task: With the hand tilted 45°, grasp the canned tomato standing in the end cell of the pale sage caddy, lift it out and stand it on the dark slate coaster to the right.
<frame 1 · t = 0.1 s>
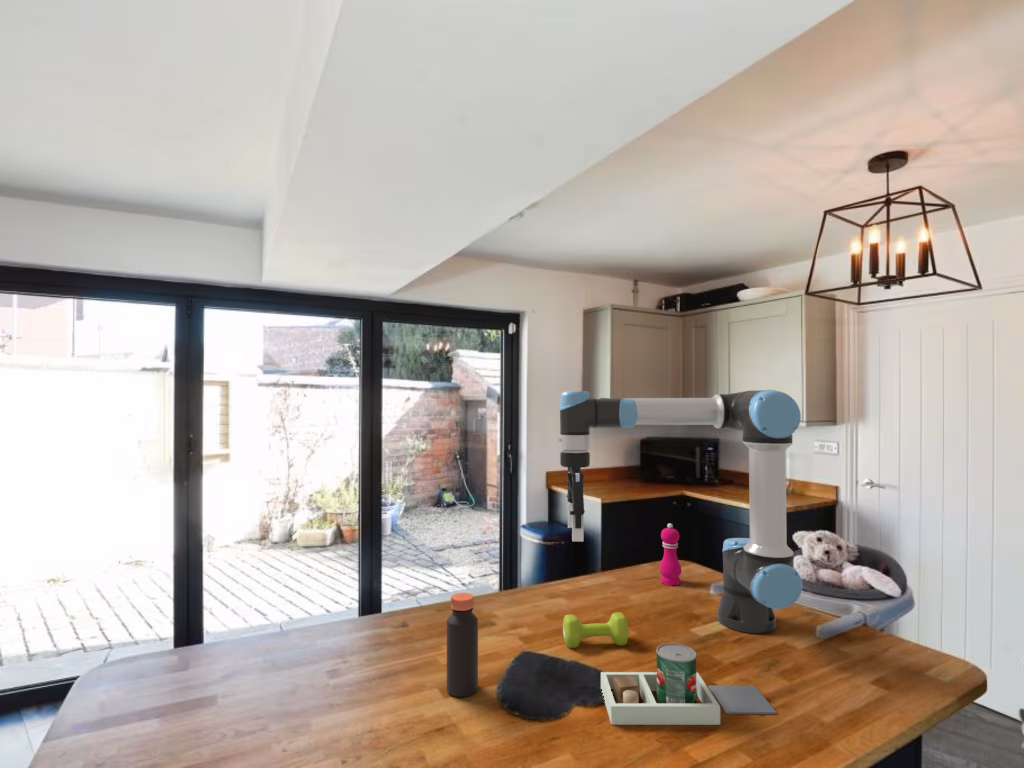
hand: (575, 534, 140), 28 cm above the kitchen island, tool pointing down, fingers open, 13 cm apart
beech dowel: (630, 714, 109), resting in caddy
dumbbell: (595, 644, 140), on the kitchen island
caddy: (657, 705, 112), on the kitchen island
bottle: (462, 690, 118), on the kitchen island
canned tomato: (676, 706, 112), resting in caddy
slate coaster: (741, 700, 114), on the kitchen island
walnut block: (625, 700, 114), resting in caddy
pepper mill: (670, 583, 185), on the kitchen island
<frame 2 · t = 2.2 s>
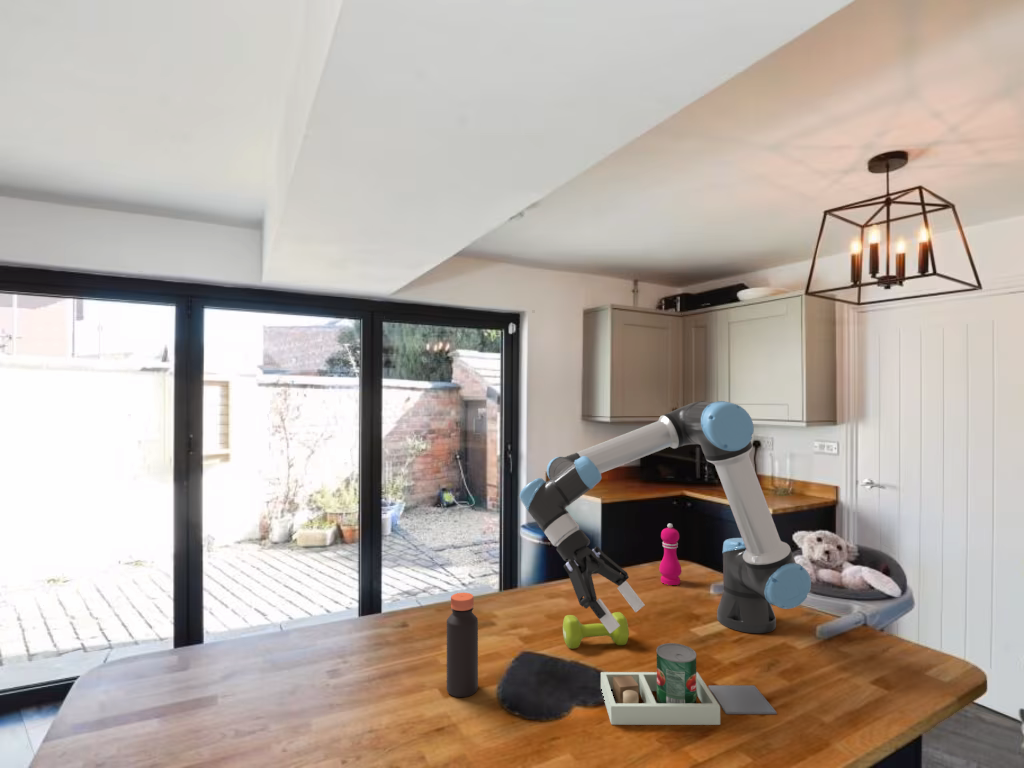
hand: (628, 619, 118), 15 cm above the kitchen island, tool tilted 45°, fingers open, 13 cm apart
nothing on the kitchen island moved.
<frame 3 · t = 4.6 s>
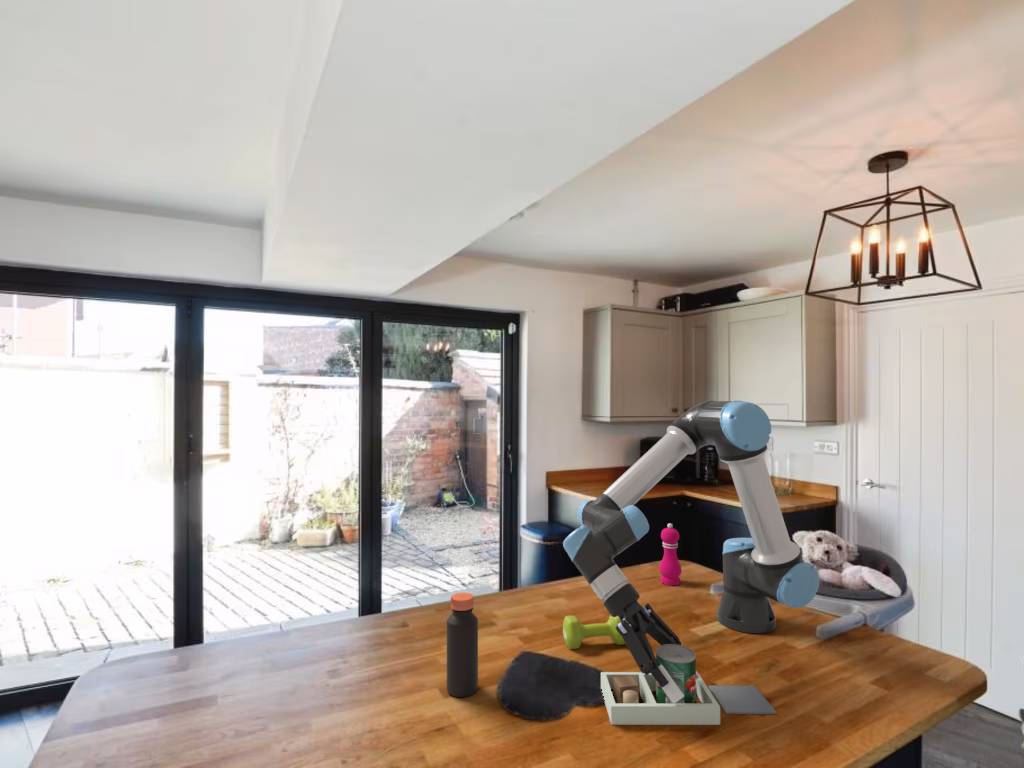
hand: (687, 689, 110), 5 cm above the kitchen island, tool tilted 45°, fingers open, 9 cm apart
canned tomato: (676, 707, 111), resting in caddy, touching gripper
everything else where it was.
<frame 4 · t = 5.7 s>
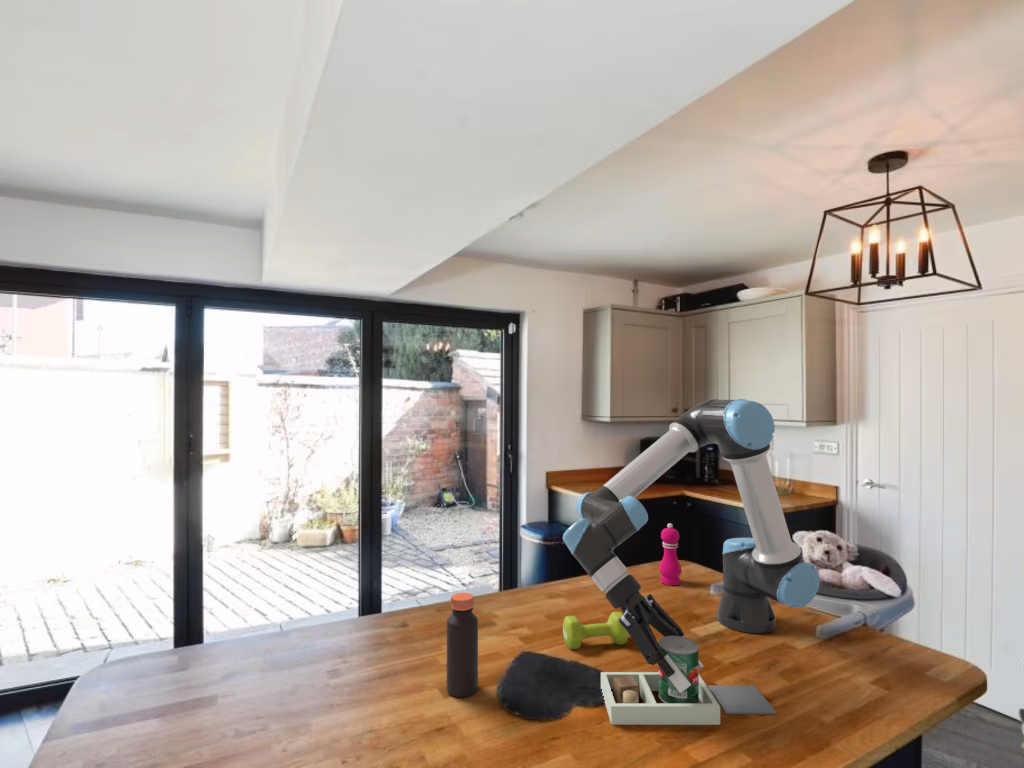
hand: (692, 679, 110), 6 cm above the kitchen island, tool tilted 45°, fingers closed on canned tomato, 8 cm apart
canned tomato: (678, 699, 112), point 2 cm above the kitchen island, touching gripper
everything else where it was.
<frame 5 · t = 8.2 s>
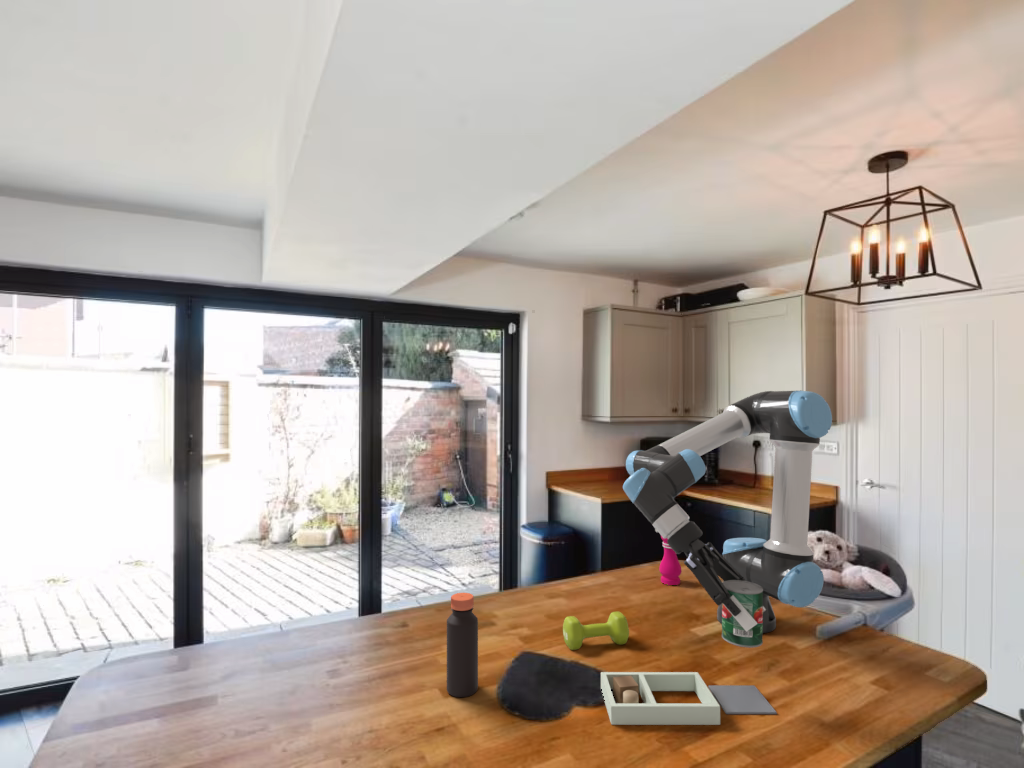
hand: (756, 620, 112), 17 cm above the kitchen island, tool tilted 45°, fingers closed on canned tomato, 8 cm apart
canned tomato: (741, 640, 114), point 13 cm above the kitchen island, touching gripper
everything else where it was.
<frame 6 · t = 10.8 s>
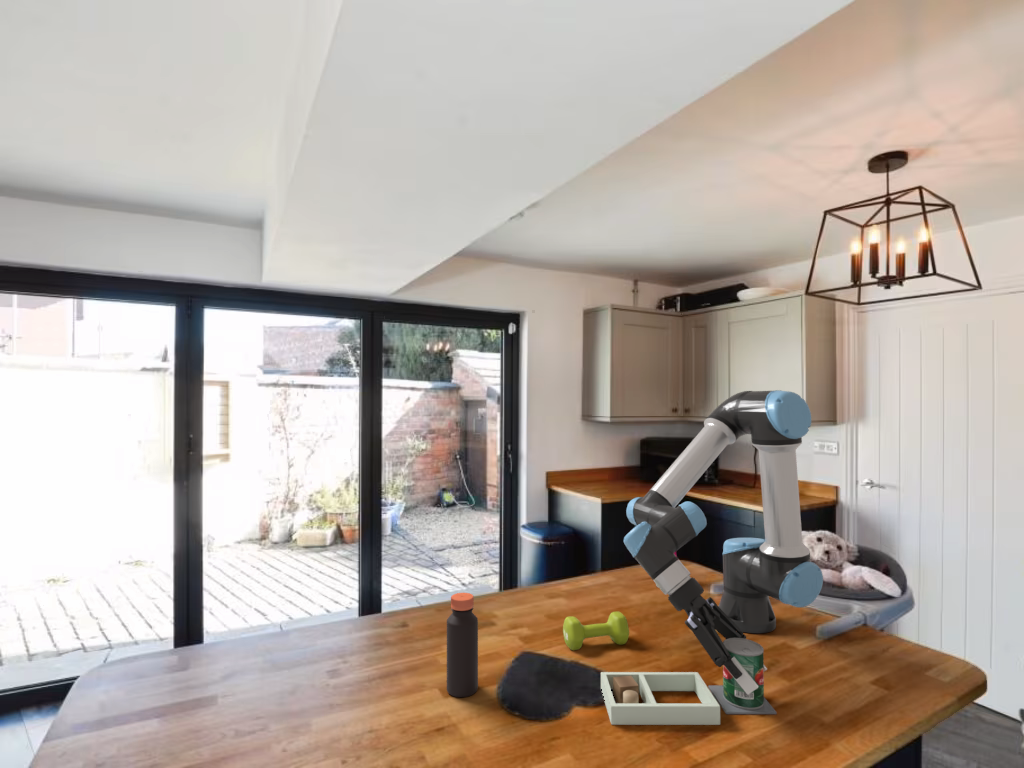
hand: (757, 681, 112), 5 cm above the kitchen island, tool tilted 45°, fingers closed on canned tomato, 8 cm apart
canned tomato: (743, 700, 114), resting on slate coaster, touching gripper
everything else where it was.
when the fingers open (5 cm above the kitchen island, at t = 10.8 s): canned tomato stays where it is, resting on slate coaster.
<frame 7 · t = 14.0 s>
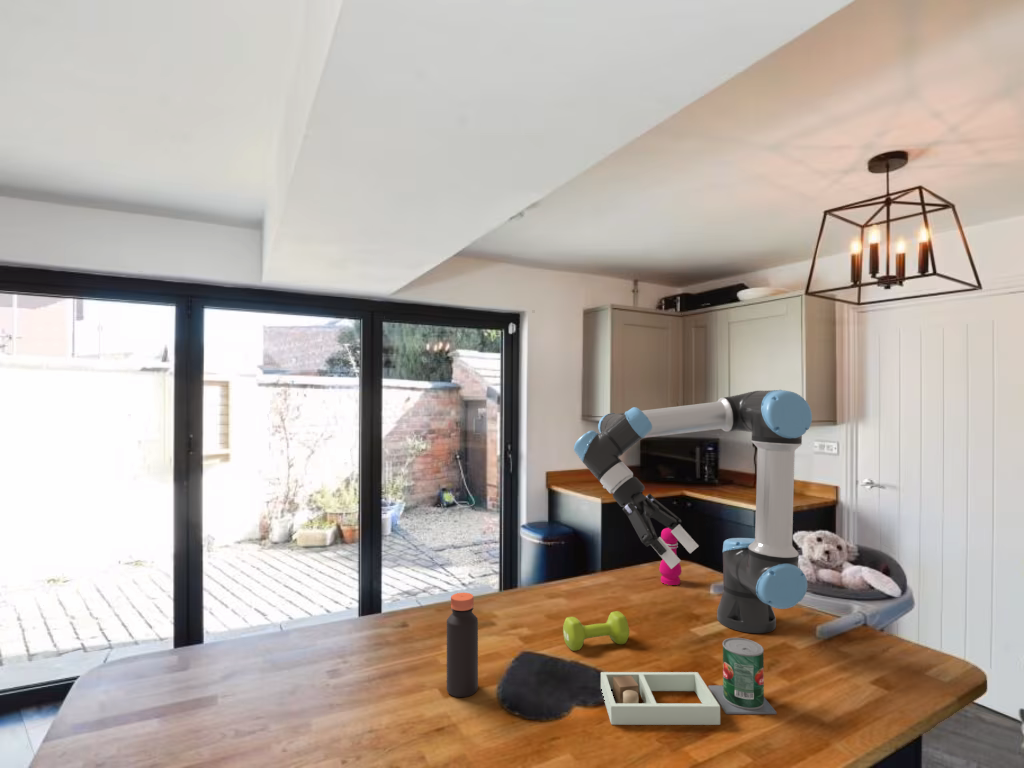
hand: (685, 557, 124), 27 cm above the kitchen island, tool tilted 45°, fingers open, 13 cm apart
canned tomato: (743, 700, 114), resting on slate coaster
everything else where it was.
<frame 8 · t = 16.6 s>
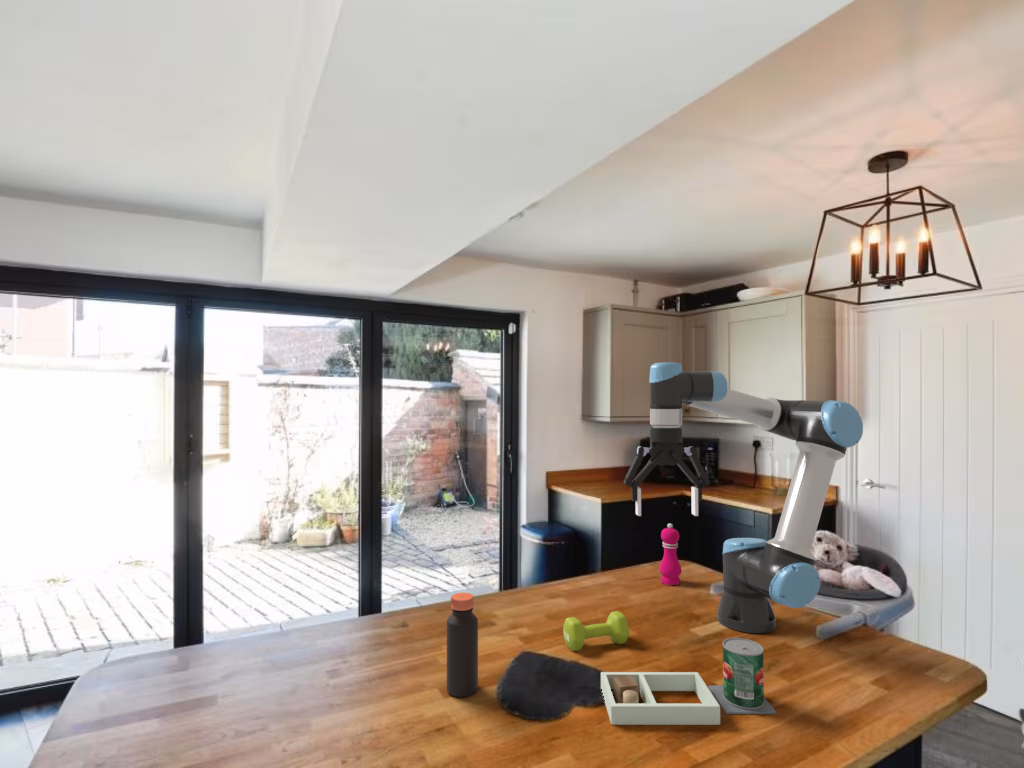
hand: (666, 514, 132), 35 cm above the kitchen island, tool pointing down, fingers open, 13 cm apart
nothing on the kitchen island moved.
at the end: canned tomato inside the target area (0.5 cm from its centre), resting on slate coaster; canned tomato tilted 0°; the gripper is holding nothing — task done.
